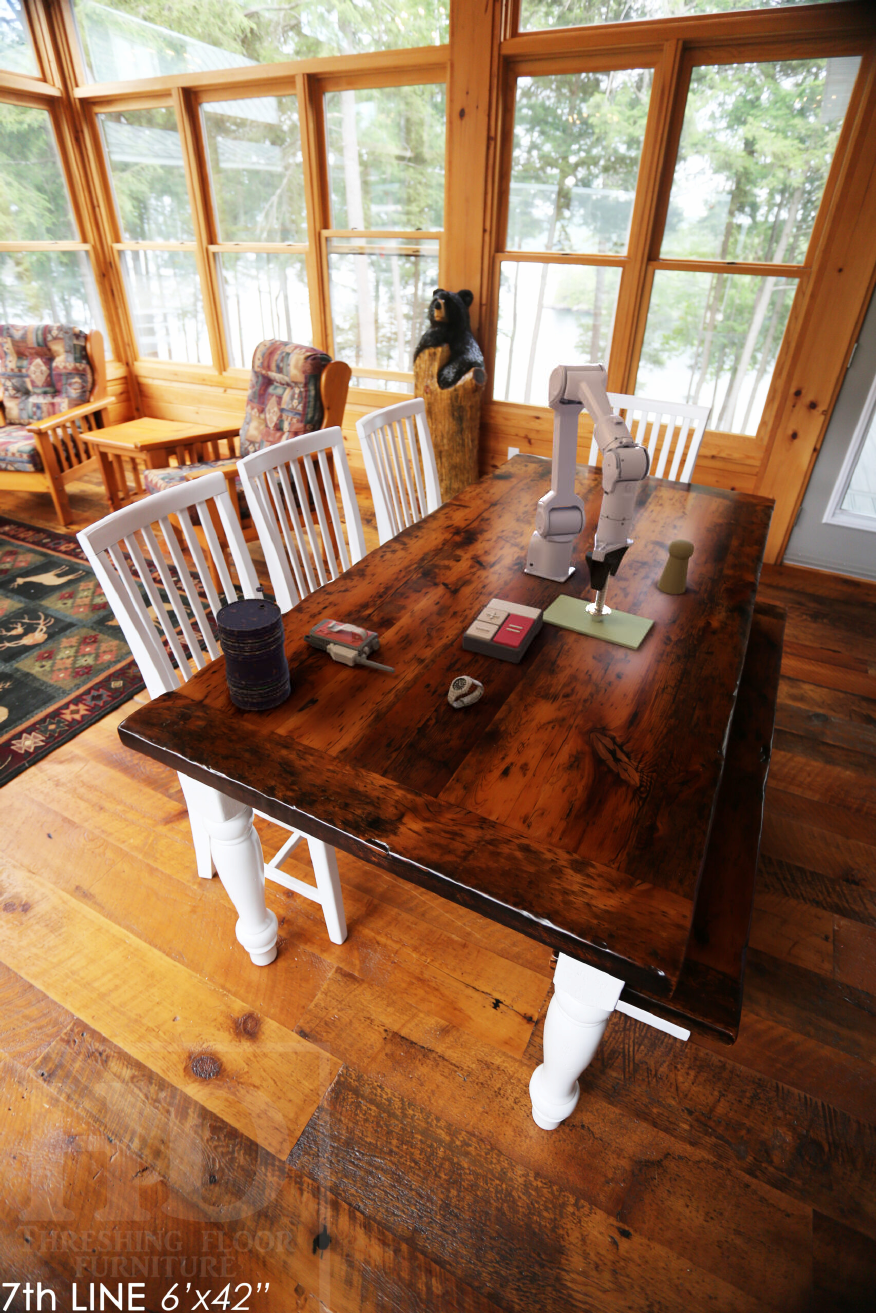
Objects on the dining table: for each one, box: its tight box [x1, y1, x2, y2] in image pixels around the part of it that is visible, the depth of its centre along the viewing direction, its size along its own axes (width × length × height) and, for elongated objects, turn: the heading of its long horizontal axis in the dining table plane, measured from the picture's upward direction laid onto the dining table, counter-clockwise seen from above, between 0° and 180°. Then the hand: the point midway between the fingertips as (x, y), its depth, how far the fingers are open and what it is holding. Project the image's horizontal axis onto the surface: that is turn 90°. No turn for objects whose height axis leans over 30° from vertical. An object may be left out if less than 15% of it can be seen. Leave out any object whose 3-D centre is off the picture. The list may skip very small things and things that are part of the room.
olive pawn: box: [656, 538, 695, 595], centre depth 140 cm, size 6×6×11 cm
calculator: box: [462, 598, 545, 664], centre depth 122 cm, size 11×4×15 cm
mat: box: [542, 594, 655, 651], centre depth 129 cm, size 20×12×1 cm, turn 59°
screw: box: [586, 572, 611, 622], centre depth 126 cm, size 13×5×5 cm
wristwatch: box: [447, 675, 485, 709], centre depth 104 cm, size 4×6×5 cm, turn 119°
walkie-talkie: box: [302, 618, 396, 674], centre depth 116 cm, size 9×4×20 cm
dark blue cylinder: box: [215, 586, 291, 711], centre depth 102 cm, size 10×10×18 cm
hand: (603, 581), depth 125 cm, fingers open, 7 cm apart
